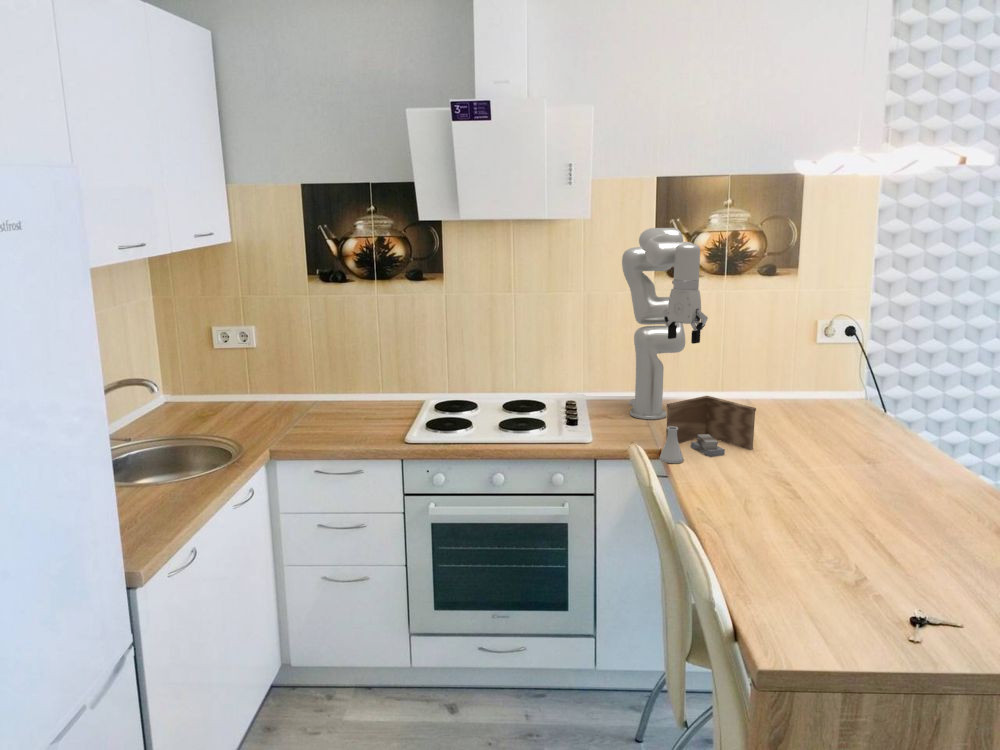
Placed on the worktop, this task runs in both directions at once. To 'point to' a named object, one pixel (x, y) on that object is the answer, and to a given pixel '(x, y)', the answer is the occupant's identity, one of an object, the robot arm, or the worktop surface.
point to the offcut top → (707, 441)
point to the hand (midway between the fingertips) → (683, 340)
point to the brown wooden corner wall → (712, 420)
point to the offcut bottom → (710, 453)
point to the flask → (671, 448)
